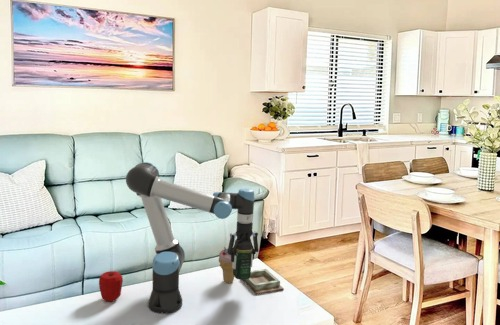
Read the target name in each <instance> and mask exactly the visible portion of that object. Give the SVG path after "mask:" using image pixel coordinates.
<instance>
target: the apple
mask: <svg viewBox="0 0 500 325" xmlns="http://www.w3.org/2000/svg"><path fill="white" fill-rule="evenodd" d="M123 281H124V280H123V276H122V274H121V273H120V272H118V271H115V270H114V271H113V270H112V271H111V270H110V271H106V272H103V273H102V274H101V275H100V276H99V280H98V287H99V292H100V296H101V299H103V300H104V301H105V302H106V303H112V302H115V301H116V300H118V299H119V297H121V294H122V290H123V289H122V288H123V283H124V282H123Z"/></svg>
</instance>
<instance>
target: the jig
mask: <svg viewBox="0 0 500 325" xmlns="http://www.w3.org/2000/svg"><path fill="white" fill-rule="evenodd" d="M242 282H243V283H244V284H245V285H247V287H248V288H249V289H250V290H251V291H252V292H253V293H254V294H255V295H256V296H258V295H263V294H270V293H276V292H281V291H282V292H283V291H284V289H285V288H284V287H283V286H282V285H281V280H279V279H278V278H277V277H276V276H275V275H274V274H272V273H271V272H270V271H269V270H268V269H267V268H263V269H257V270H251V275H250V278H249V279H246V280H242Z"/></svg>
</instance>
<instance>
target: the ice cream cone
mask: <svg viewBox="0 0 500 325" xmlns="http://www.w3.org/2000/svg"><path fill="white" fill-rule="evenodd" d="M227 251H228V248H226V247H223V249H222V250H221V251H220V252H219V255H218V262H219V267H220V268H221V271H222V280H223V282H224V283H225V284H232V283H233V282H234V281H235V277H234V275H233V268H232V262H231V255H229V254H228V253H227Z"/></svg>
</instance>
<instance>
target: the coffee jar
mask: <svg viewBox="0 0 500 325" xmlns="http://www.w3.org/2000/svg"><path fill="white" fill-rule="evenodd" d="M251 242H252V241H251ZM251 242H249V241H246V240H244V241H242V242H241V243H238V244H237V243H236V239H235V240H234V244H235V243H236V244H237V252H236V254H235V255H236V269H233V275H234V279H237V280H240V281H241V280H242V281H243V280H246V279H249V278H250V275H251V271H252V267H251V257H252V245H253V243H251Z"/></svg>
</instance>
